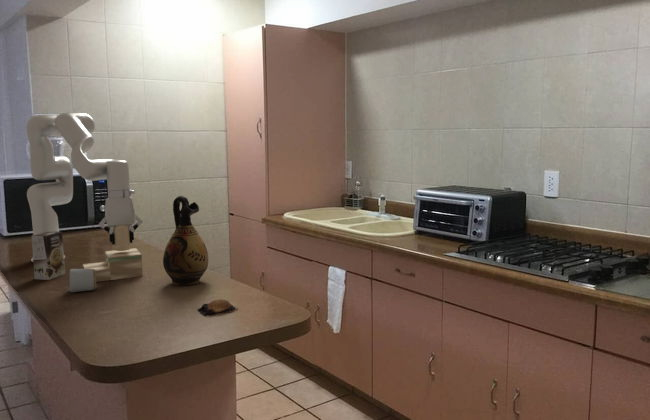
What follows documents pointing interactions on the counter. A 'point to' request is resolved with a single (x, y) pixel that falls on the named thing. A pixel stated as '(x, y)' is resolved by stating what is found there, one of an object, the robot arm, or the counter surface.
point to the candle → (121, 238)
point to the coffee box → (48, 255)
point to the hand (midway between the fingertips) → (122, 242)
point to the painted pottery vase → (185, 247)
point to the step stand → (118, 265)
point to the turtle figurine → (216, 308)
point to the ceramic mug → (82, 280)
